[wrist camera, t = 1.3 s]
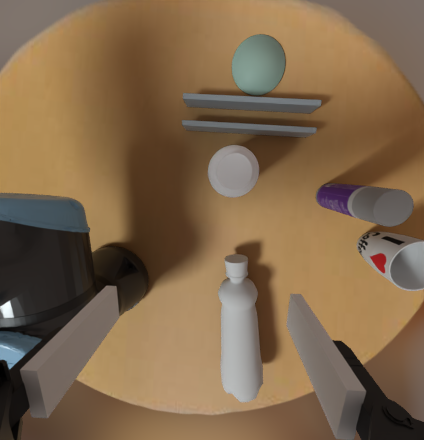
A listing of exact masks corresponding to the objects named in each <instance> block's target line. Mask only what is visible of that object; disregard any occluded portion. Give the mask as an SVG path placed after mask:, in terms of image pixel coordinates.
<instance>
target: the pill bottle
mask: <svg viewBox="0 0 424 440" xmlns="http://www.w3.org/2000/svg"><path fill="white" fill-rule="evenodd" d="M258 176H259V165H258V161H257V159H256V157H255V155H254V154H253V153H252V152H251V151H250V150H249V149H247V148H245V147H243V146H239V145H229V146H226V147H223V148H221V149H220V150H218V151H217V152H216V153H215V154H214V155H213V157H212V159H211V160H210V163H209V166H208V177H209V181H210V183H211V185H212V187H213V188H214V189H215V190H216V191H217V192H218V193H219V194H221V195H223V196H226V197H240V196H243V195H245V194H246V193H248V192H249V191H250V190H251V189H252V188H253V187H254V186H255V184H256V182H257V180H258Z"/></svg>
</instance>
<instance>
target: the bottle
mask: <svg viewBox="0 0 424 440" xmlns="http://www.w3.org/2000/svg"><path fill="white" fill-rule="evenodd" d="M225 265H226V271H227V272H226V276H227V277H229V278H227V279H225V280H224V281H223V282H222V284H221V286H220V288H219V291H218V295H219V299H220V301H221V303H222V308H221V349H222V355H221V377H222V385H223V387H224V390H225V391H226V392H227V393H228V394H231V393H232V394H233V395H234V396H235V397H236V398H237V399H238V400H239V401H240V402H249V401H251V400H253V399H255V398H256V396H257V394H258V391H259V389H260V387H261V385H262V384H263V366H262V361H261V355H260V343H259V330H258V317H257V311H256V307H255V302H256V300H257V296H258V292H257V289H256V287H255V285H254V283H253V282H252V281H251V280H250V279H248V278H246V277H247V276H248V272H247V266H248V257H246V256H244V255H240V254H233V255H229V256H226V257H225Z"/></svg>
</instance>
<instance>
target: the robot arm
mask: <svg viewBox="0 0 424 440" xmlns="http://www.w3.org/2000/svg"><path fill="white" fill-rule="evenodd" d="M89 232H90V228H89V227H88V224H87V220H86V215H85V210H84V207H83V205H82V204H81V203H80V202H78V201H77V200H75V199H72V198H68V197H60V196H50V195H36V194H18V193H0V440H21V432H22V425H23V421H22V416H23V415H24V413H25V412H26V411H27V410H28V409H29V408H30V412H31V416H32V417H38V418H48V417H49V415H50V414H51V413H52V411H53V410H54V408H55V407H56V406H57V404H58V403H59V401H60V400H61V399H62V397H63V396H64V394H65V393H66V392H67V390H68V389H69V387H70V386H71V385H72V383H73V382H74V380H75V379H76V378H77V376H78V375H79V373H80V372H81V371H82V369H83V368H84V366H85V365H86V363H87V362H88V361H89V359H90V358H91V356H92V355H93V354H94V352H95V351H96V349H97V348H98V347H99V345H100V344H101V342H102V341H103V340H104V338H105V337H106V335H107V334H108V333H109V331H110V330H111V328H112V327H113V326H114V324H115V323H116V321H117V320H118V319H119V316H121V315H122V314H123V313H125V312H126V311H128V310H130V309H132V308H133V307H135V306H136V305H137V304H138V303H139V302H140V300H141V299H142V298H143V296H144V295H145V293H146V291H147V288H148V273H147V270H146V268H145V266H144V264H143V263H142V261H141V260H140V259H139V258H138V257H137V256H136V255H135V254H133V253H132V252H130V251H128V250H126V249H124V248H121V247H116V246H107V247H103V248H100V249H98V250H96V251H94V252H92V251H91V244H90V237H89ZM286 326H287V328H288V330H289V332H290V335H291V337H292V339H293V342H294V344H295V346H296V349H297V351H298V353H299V355H300V358H301V360H302V362H303V365H304V367H305V369H306V371H307V374H308V376H309V378H310V381H311V383H312V385H313V388H314V390H315V392H316V394H317V397H318V399H319V401H320V403H321V405H322V408H323V410H324V413H325V415H326V417H327V420H328V422H329V424H330V426H331V429H332V431H333V433H334V436H335V438H336V439H345V440H346V439H347V440H354V437H355V433H356V430H357V432H358V434H359V436H360V438H361V440H424V422H422V421H419V420H416V419H414V418H412V417H411V415H410V414H409V413H408V412H407V411H406V410H405V409H404V408H403V407H401V406H400V405H398V404H397V403H396V402H394V401H392V400H389V399H388V398H387V397H386V396H385V394H384V393H383V392H382V390H381V389H380V388H379V386H378V385H377V384H376V382H375V381H374V380H373V378H372V377H371V376H370V375H369V373H368V372H367V370H366V369H365V368H364V367H363V365H362V364H361V362H360V361H359V360H358V359H357V357H356V355H355V354H354V353H353V351H352V350H351V349H350V348H349V347H348V346H347V345H345V344H344V343H343V342H342V341H334V340H331V338H330V337H329V335H328V334H327V332H326V331H325V329H324V328H323V326H322V325H321V323H320V322H319V320H318V319H317V317H316V316H315V314H314V313H313V311H312V310H311V308H310V307H309V305H308V304H307V302H306V301H305V299H304V298H303V296H302V295H301V294H290V302H289V309H288V317H287V325H286Z"/></svg>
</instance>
